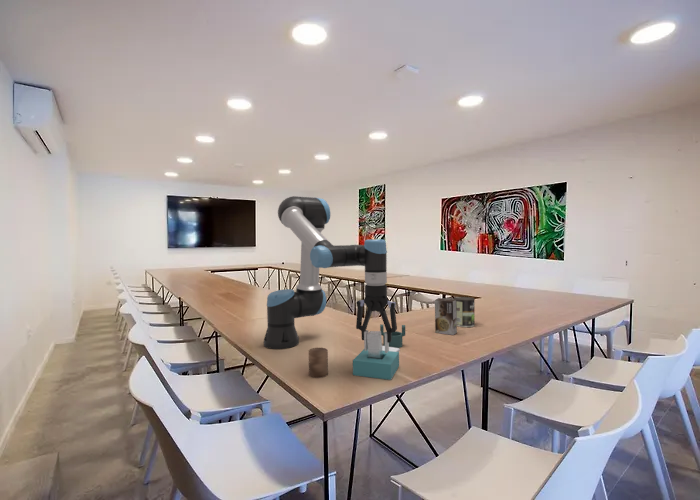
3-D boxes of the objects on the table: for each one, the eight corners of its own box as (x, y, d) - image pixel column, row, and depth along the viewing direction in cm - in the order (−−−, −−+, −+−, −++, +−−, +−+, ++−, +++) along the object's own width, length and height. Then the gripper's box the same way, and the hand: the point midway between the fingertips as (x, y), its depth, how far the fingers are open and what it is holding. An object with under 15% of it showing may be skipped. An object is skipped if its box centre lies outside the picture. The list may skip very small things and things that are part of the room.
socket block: (352, 375, 115) (352, 360, 115) (364, 362, 128) (364, 348, 128) (391, 379, 111) (390, 364, 111) (399, 365, 123) (399, 352, 123)
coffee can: (476, 324, 182) (476, 297, 182) (472, 328, 174) (471, 300, 173) (457, 321, 188) (457, 296, 188) (451, 325, 179) (451, 298, 179)
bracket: (407, 346, 146) (407, 325, 146) (390, 349, 142) (389, 328, 141) (394, 341, 154) (394, 321, 154) (377, 344, 149) (377, 323, 149)
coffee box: (457, 332, 167) (457, 299, 166) (453, 335, 161) (453, 301, 161) (438, 329, 172) (438, 297, 171) (434, 332, 166) (434, 299, 166)
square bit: (369, 368, 118) (366, 334, 118) (372, 364, 122) (370, 331, 122) (380, 369, 117) (378, 334, 117) (383, 365, 121) (380, 331, 120)
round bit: (305, 376, 115) (305, 352, 115) (314, 369, 121) (313, 346, 121) (323, 378, 113) (322, 354, 113) (331, 371, 119) (330, 348, 119)
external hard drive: (400, 352, 140) (386, 361, 130) (381, 349, 144) (367, 357, 134) (400, 348, 140) (386, 357, 129) (381, 345, 144) (367, 353, 134)
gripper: (345, 284, 118) (346, 351, 119) (401, 286, 112) (402, 356, 112) (352, 282, 125) (353, 344, 126) (406, 283, 119) (406, 349, 119)
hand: (376, 350), depth 119 cm, fingers open, 7 cm apart
